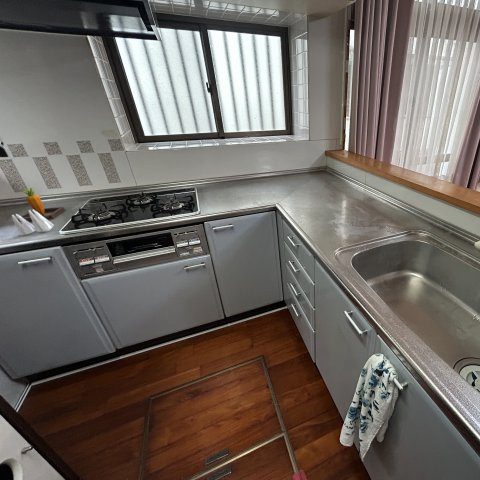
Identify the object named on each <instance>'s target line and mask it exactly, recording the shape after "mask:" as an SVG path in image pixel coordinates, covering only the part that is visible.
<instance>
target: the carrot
mask: <svg viewBox="0 0 480 480" xmlns="http://www.w3.org/2000/svg"><path fill="white" fill-rule="evenodd" d="M21 192H22V193H24V194H26V195H27V196H26V197H25V200H26V201H27V203H28V204H29V206H30V207H31V209H32V210H35V211H36V212H38V213H39V214H40V215H42V216H45V213H46V212H45V211H44V208H45V207H44V203H43V201H42V199H41V197H40V195H38V194H34V193H35V191H34V188H33V187H29V189H26V190H24V189H23V190H21ZM44 212H45V213H44Z"/></svg>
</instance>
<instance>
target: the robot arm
mask: <svg viewBox="0 0 480 480" xmlns="http://www.w3.org/2000/svg"><path fill="white" fill-rule="evenodd" d="M5 148H6V147H5V142H4V140H3V138H2V137H0V158H9V155H8V152H7V151H6V149H5Z"/></svg>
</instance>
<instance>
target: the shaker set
mask: <svg viewBox="0 0 480 480" xmlns="http://www.w3.org/2000/svg"><path fill="white" fill-rule="evenodd" d="M31 210H32V211H33V213H34V214H33V213H32V212H31ZM27 212H29V215H30V217H31V220H32V221H31V222H28V221H26V220H25V219H24V218H22V217H21V216H22V215H20V214H17V213H15V215H14V214H11V218H12V221H13V223H14V225H15V227H16V230H17V231H18V233H19V236H21V237H22V236H26V235H30V234H33V233H34V232H38V233H39V232H41V233H47V232H50V231H51V230H52V229H53V228H54V226H55V224H53V223H52V222H51V221H50V220H47V219H46V218H44V217H43V216H42V215H40V214H39V213H38V212H36V211H35V210H34V209H29V210H28V211H27ZM17 218H18V219H19V220H20V221H21V222H19V221H18V219H17Z"/></svg>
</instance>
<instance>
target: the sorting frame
mask: <svg viewBox="0 0 480 480" xmlns="http://www.w3.org/2000/svg"><path fill="white" fill-rule="evenodd" d="M32 210H33V209H30V211H31V212H32V213H33V211H32ZM44 211H45V212H44V216H43V217H44V218H46V219H47V220H48V221H50V220H54V219H55V218H57V216H59V215H61V214H62V213H63V212H65V211H66V210H65V208H64V206H55V207H54V206H53V207H44ZM46 213H50V214H48V215H47V214H46ZM33 214H34V213H33ZM45 214H46V215H45ZM20 216H21V217H22V218H24V219H25V220H26V221H28V222H29V223H31V222H32V220H31V217H30V215H29V212H28V211H27V212H25V213H24V214H22V215H20ZM16 218H17V220H18V221H19V222H20V223H21V221H20V220H19V219H18V217H16Z"/></svg>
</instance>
